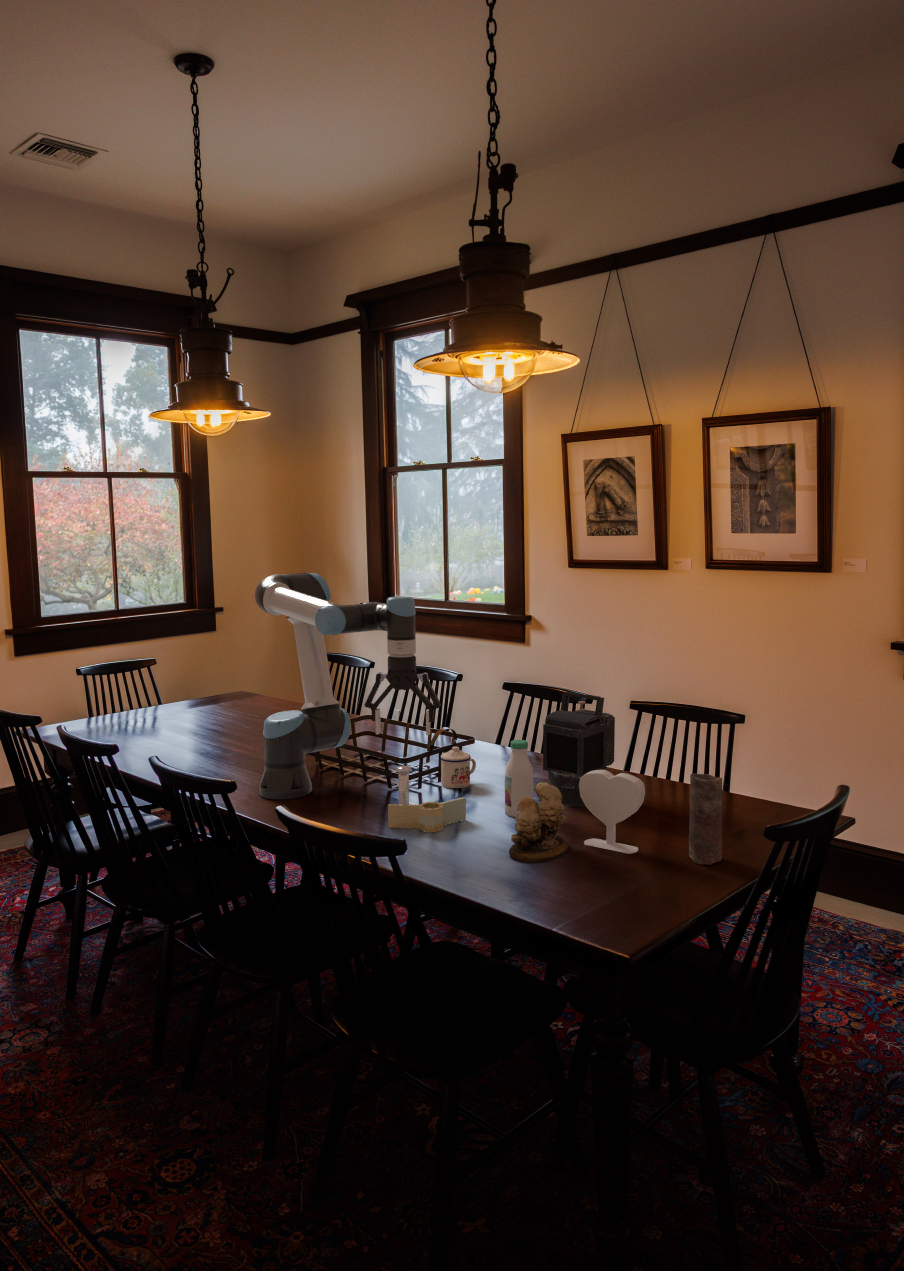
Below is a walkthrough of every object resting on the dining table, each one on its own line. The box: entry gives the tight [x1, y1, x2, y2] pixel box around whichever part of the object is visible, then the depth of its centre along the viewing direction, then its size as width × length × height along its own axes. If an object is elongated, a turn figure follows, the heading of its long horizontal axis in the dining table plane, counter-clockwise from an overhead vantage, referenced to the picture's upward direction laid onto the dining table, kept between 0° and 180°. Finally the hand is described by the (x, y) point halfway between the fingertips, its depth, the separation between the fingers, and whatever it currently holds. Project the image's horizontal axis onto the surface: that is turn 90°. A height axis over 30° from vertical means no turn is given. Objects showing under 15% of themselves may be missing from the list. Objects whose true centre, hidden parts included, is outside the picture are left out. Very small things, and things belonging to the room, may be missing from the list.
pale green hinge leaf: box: [418, 796, 467, 826], centre depth 224 cm, size 14×6×6 cm, turn 128°
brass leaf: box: [387, 801, 445, 833], centre depth 223 cm, size 14×6×6 cm, turn 83°
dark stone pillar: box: [688, 773, 723, 866], centre depth 199 cm, size 8×7×20 cm
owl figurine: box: [508, 781, 569, 864], centre depth 205 cm, size 18×12×17 cm, turn 139°
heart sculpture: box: [579, 769, 646, 855], centre depth 208 cm, size 16×5×18 cm, turn 57°
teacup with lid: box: [440, 746, 477, 789], centre depth 261 cm, size 12×9×12 cm
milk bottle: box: [504, 739, 535, 818], centre depth 232 cm, size 8×8×20 cm
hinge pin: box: [395, 765, 412, 805], centre depth 234 cm, size 4×4×13 cm
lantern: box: [542, 691, 616, 807], centre depth 245 cm, size 15×18×30 cm
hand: (403, 733), depth 232 cm, fingers open, 13 cm apart
